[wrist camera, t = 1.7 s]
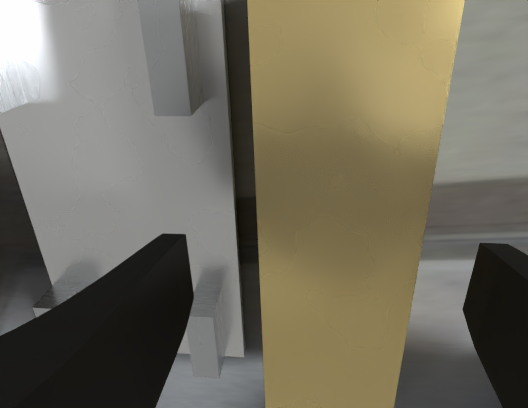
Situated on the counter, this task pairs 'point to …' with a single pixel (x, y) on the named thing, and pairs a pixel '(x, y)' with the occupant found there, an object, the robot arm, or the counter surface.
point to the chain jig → (127, 147)
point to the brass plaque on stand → (343, 186)
